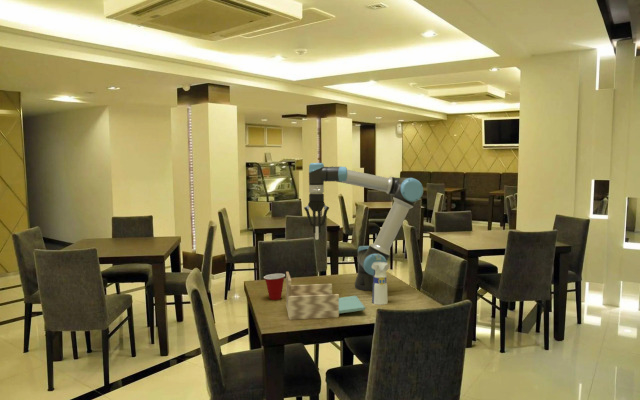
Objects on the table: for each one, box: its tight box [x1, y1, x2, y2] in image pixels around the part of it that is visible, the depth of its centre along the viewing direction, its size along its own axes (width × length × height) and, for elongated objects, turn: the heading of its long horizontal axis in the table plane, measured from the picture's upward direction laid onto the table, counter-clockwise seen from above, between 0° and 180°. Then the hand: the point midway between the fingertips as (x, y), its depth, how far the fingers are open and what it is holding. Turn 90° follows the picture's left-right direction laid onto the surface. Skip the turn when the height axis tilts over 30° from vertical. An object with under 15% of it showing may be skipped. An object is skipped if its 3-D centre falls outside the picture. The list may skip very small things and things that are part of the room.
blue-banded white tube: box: [371, 253, 390, 306], centre depth 229 cm, size 8×9×25 cm
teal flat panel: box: [339, 295, 366, 314], centre depth 218 cm, size 2×19×12 cm
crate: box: [285, 271, 340, 321], centre depth 215 cm, size 22×20×17 cm
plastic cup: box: [263, 273, 286, 301], centre depth 237 cm, size 11×11×12 cm
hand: (316, 239), depth 240 cm, fingers closed
